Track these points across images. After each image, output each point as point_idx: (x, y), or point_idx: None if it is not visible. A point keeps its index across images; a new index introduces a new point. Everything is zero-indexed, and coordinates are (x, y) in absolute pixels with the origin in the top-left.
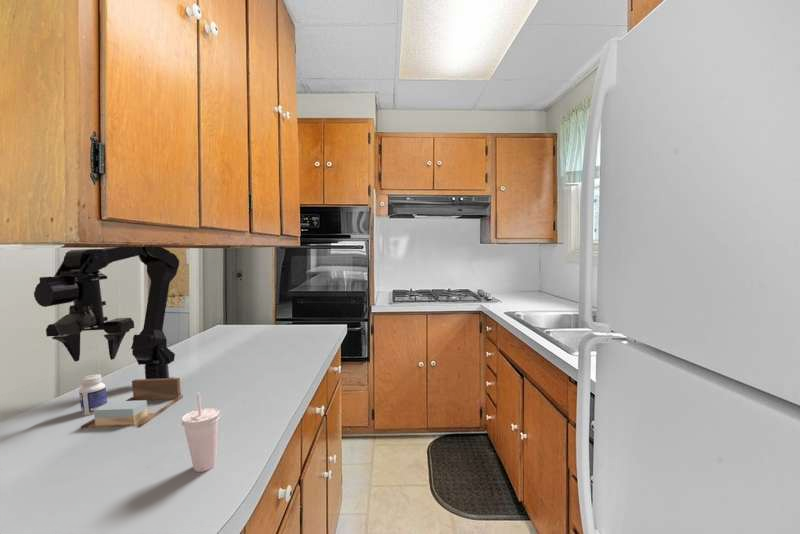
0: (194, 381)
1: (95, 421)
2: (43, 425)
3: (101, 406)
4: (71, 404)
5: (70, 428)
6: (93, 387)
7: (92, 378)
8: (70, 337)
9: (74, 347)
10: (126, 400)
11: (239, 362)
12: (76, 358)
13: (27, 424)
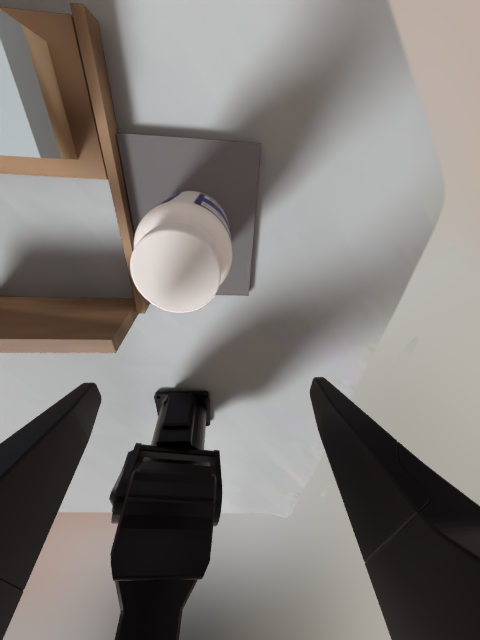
0: (99, 411)
1: (30, 31)
2: (315, 148)
3: (7, 75)
4: (323, 311)
5: (189, 94)
6: (147, 226)
7: (140, 244)
8: (450, 608)
9: (358, 471)
10: (137, 289)
11: (92, 481)
12: (318, 393)
13: (376, 168)
